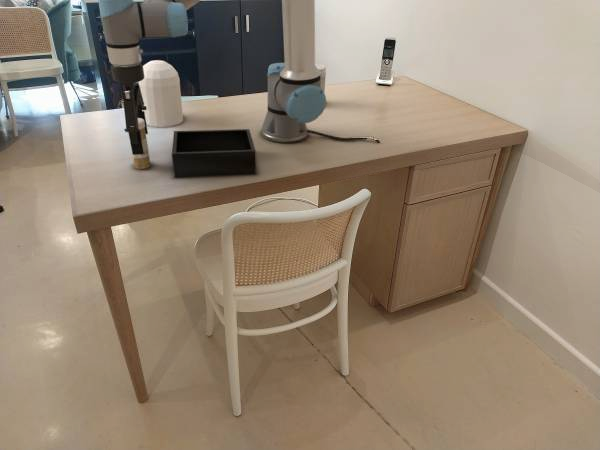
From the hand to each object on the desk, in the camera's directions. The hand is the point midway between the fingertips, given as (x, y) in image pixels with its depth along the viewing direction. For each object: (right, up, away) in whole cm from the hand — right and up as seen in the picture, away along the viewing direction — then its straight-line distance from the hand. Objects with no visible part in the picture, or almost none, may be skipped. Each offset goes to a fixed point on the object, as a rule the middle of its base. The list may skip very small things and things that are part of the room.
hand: (140, 143), depth 123 cm
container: (-4, +14, +34) cm, 37 cm away
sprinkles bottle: (-1, -6, +4) cm, 7 cm away
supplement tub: (+48, +26, +56) cm, 78 cm away
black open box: (+19, -4, +7) cm, 21 cm away
